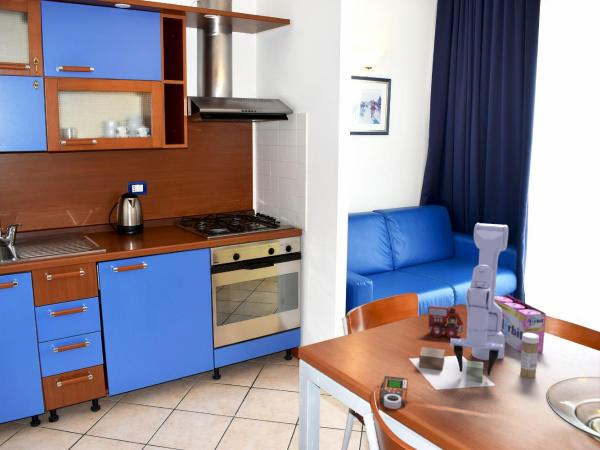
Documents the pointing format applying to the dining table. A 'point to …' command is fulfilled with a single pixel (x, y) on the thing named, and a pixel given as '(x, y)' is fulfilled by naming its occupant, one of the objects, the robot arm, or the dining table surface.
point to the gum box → (520, 321)
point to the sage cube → (474, 371)
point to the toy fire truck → (444, 321)
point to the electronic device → (394, 392)
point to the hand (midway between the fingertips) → (474, 372)
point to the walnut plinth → (431, 358)
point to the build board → (450, 375)
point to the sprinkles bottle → (529, 355)
